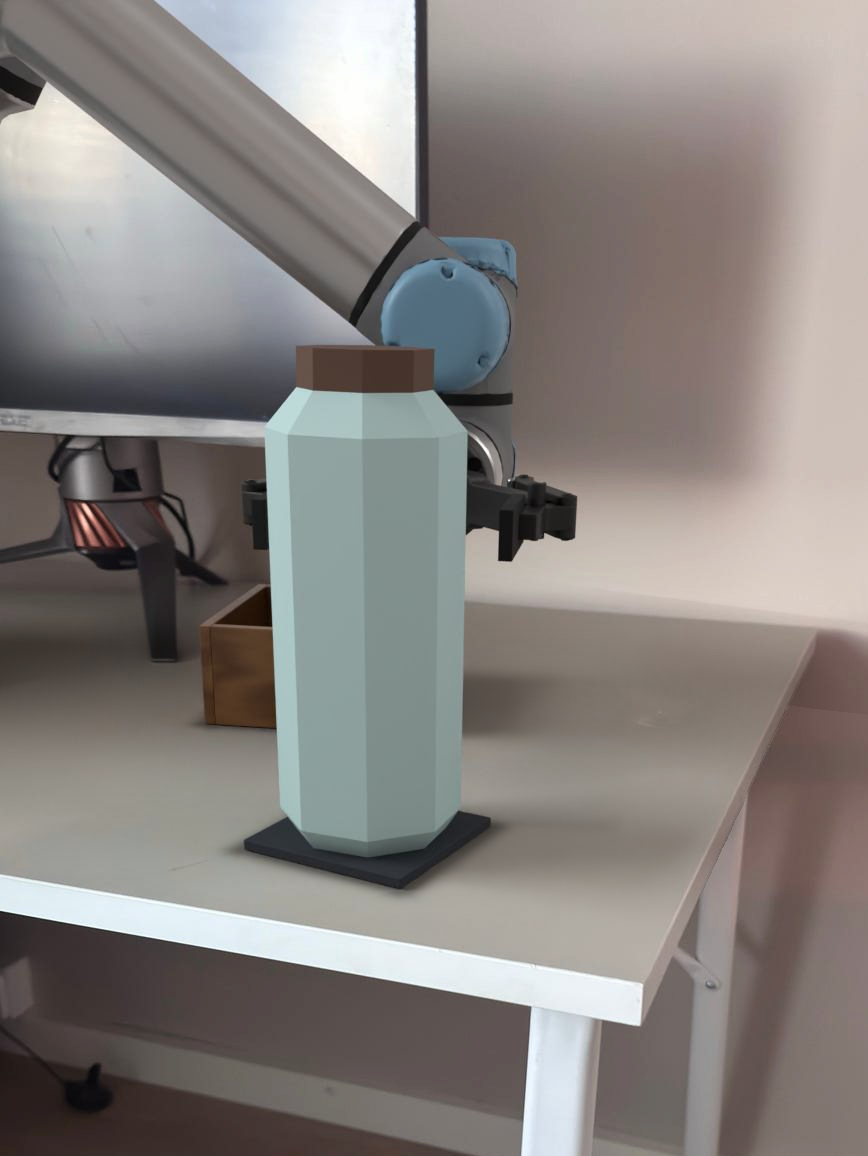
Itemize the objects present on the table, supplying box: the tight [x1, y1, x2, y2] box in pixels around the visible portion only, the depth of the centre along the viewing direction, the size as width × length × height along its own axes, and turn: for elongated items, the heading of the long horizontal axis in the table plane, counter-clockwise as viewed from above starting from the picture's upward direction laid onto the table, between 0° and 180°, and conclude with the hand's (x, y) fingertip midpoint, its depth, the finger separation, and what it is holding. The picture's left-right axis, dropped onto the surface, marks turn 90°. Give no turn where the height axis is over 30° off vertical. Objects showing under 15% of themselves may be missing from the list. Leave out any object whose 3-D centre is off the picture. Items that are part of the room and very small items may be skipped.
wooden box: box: [198, 583, 277, 729], centre depth 95 cm, size 15×15×7 cm
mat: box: [243, 810, 492, 890], centre depth 72 cm, size 10×10×1 cm
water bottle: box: [263, 344, 468, 858], centre depth 67 cm, size 10×10×25 cm
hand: (380, 530), depth 69 cm, fingers open, 13 cm apart
